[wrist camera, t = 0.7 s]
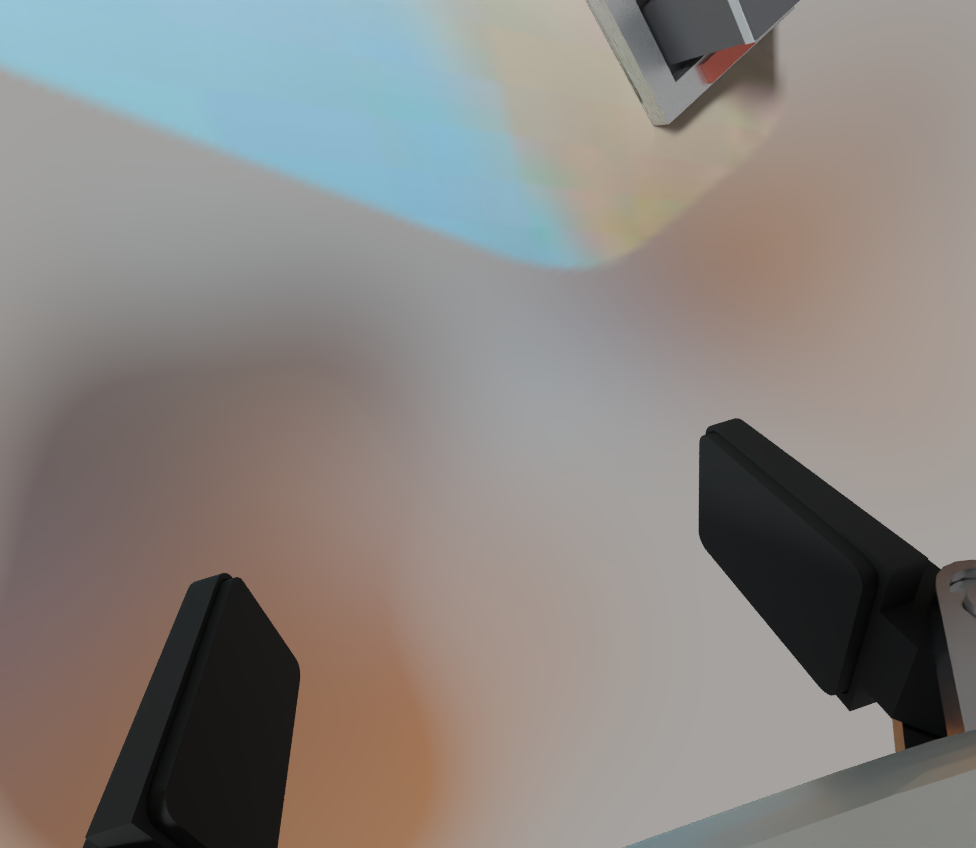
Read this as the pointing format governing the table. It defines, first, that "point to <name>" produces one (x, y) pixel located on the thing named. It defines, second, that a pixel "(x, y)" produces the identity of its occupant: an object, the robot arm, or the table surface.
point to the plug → (709, 24)
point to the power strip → (660, 60)
